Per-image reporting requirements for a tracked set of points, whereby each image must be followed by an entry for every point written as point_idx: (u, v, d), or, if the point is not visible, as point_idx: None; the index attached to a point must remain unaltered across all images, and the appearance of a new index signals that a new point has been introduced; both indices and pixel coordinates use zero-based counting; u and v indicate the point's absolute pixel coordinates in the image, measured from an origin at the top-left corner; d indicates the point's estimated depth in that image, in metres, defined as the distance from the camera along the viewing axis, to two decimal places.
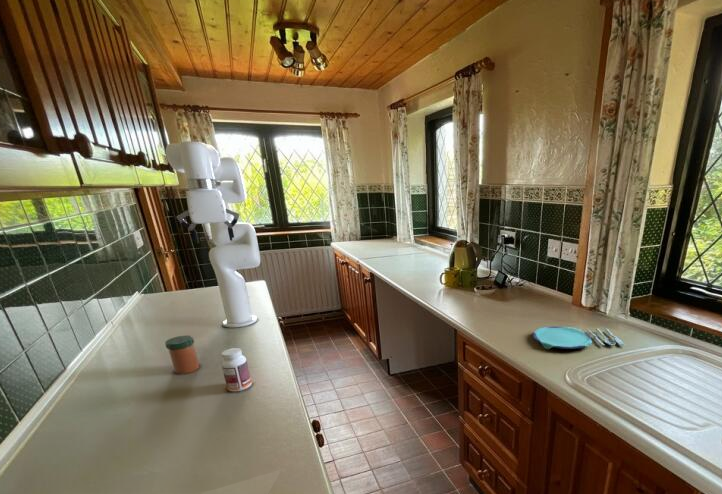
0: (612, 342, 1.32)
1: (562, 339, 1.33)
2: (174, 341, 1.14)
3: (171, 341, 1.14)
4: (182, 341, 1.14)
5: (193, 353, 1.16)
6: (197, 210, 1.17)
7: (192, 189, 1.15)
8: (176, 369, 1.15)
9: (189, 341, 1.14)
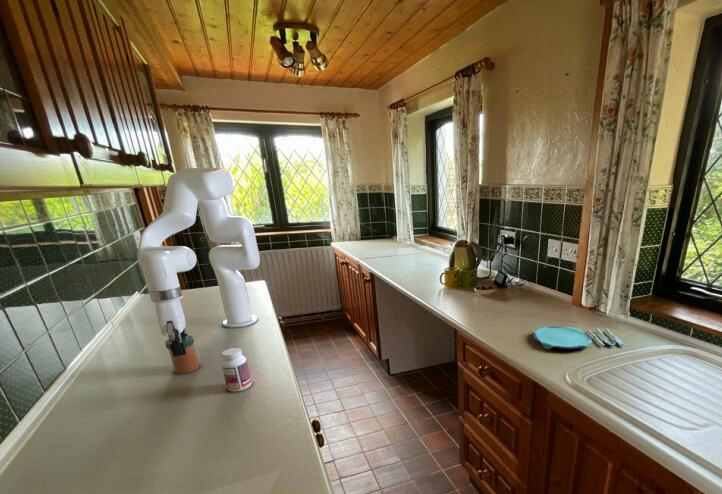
0: (612, 342, 1.32)
1: (562, 339, 1.33)
2: None
3: None
4: (182, 341, 1.14)
5: (193, 353, 1.16)
6: (180, 319, 1.11)
7: (176, 298, 1.09)
8: (176, 369, 1.15)
9: (189, 341, 1.14)
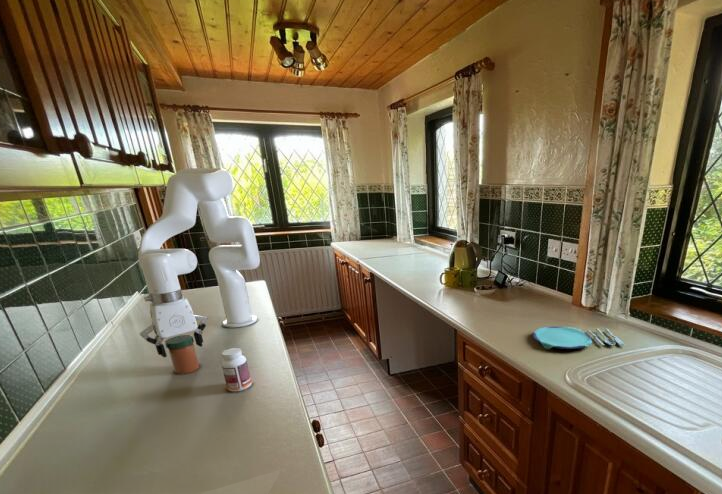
0: (612, 342, 1.32)
1: (562, 339, 1.33)
2: (184, 338, 1.15)
3: (185, 339, 1.15)
4: (182, 336, 1.17)
5: (193, 353, 1.16)
6: None
7: None
8: (176, 369, 1.15)
9: None
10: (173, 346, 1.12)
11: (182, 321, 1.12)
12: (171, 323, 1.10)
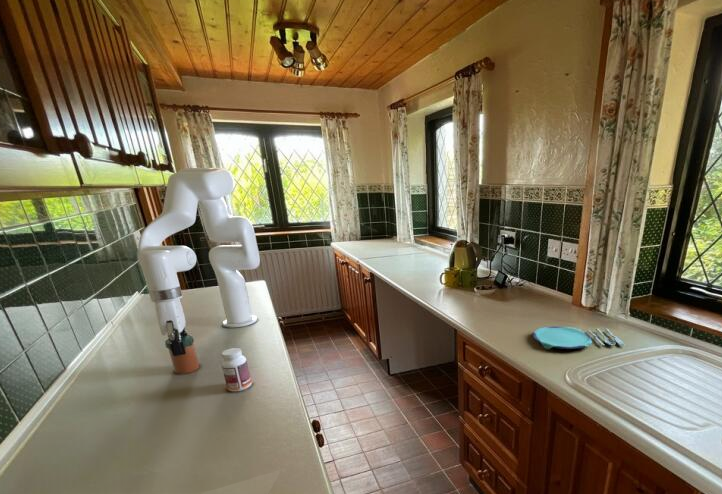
0: (612, 342, 1.32)
1: (562, 339, 1.33)
2: (184, 338, 1.15)
3: (185, 339, 1.15)
4: (182, 336, 1.17)
5: (193, 353, 1.16)
6: (180, 318, 1.11)
7: (176, 298, 1.09)
8: (176, 369, 1.15)
9: None
10: None
11: None
12: None
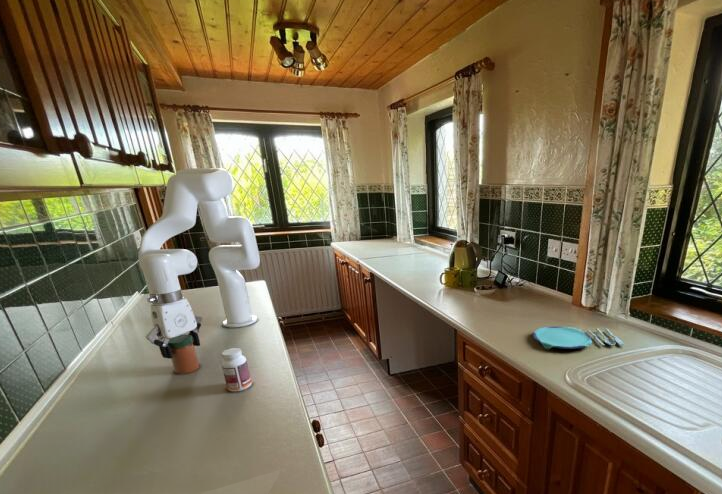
0: (612, 342, 1.32)
1: (562, 339, 1.33)
2: (175, 338, 1.15)
3: (177, 337, 1.16)
4: (170, 341, 1.13)
5: (193, 353, 1.16)
6: None
7: None
8: (176, 369, 1.15)
9: (170, 344, 1.12)
10: None
11: (185, 320, 1.13)
12: (176, 322, 1.11)
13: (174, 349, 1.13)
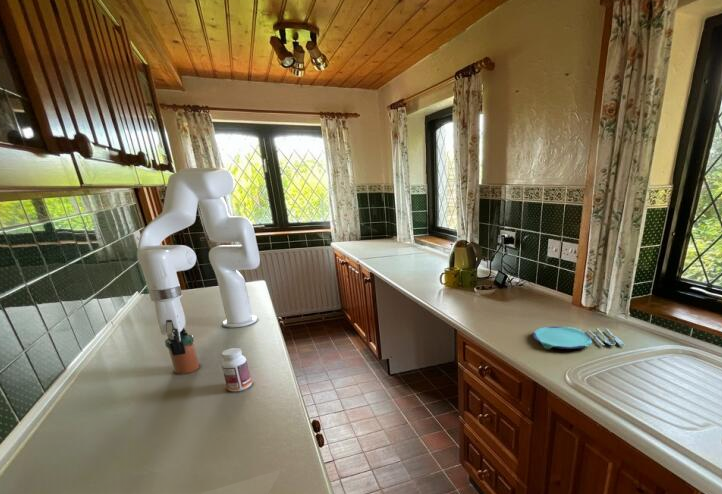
0: (612, 342, 1.32)
1: (562, 339, 1.33)
2: None
3: None
4: None
5: (193, 353, 1.16)
6: (180, 318, 1.11)
7: (175, 298, 1.09)
8: (176, 369, 1.15)
9: None
10: None
11: None
12: None
13: None
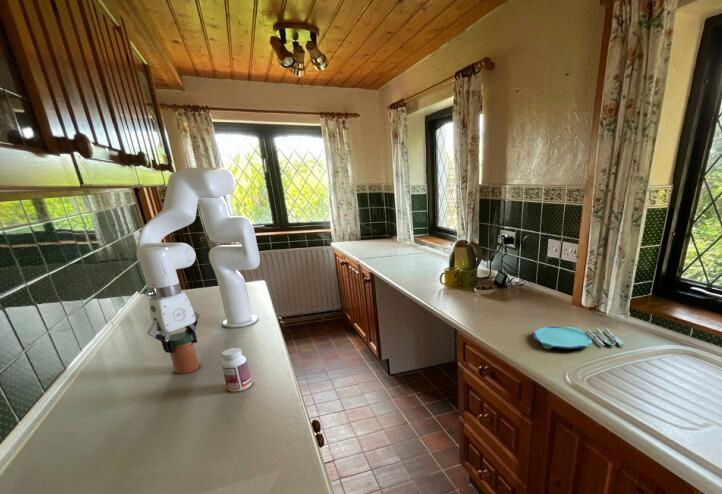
0: (612, 342, 1.32)
1: (562, 339, 1.33)
2: (178, 337, 1.14)
3: (174, 338, 1.13)
4: (187, 335, 1.15)
5: (193, 353, 1.16)
6: None
7: None
8: (176, 369, 1.15)
9: (191, 334, 1.17)
10: None
11: (183, 314, 1.13)
12: (175, 316, 1.10)
13: (174, 349, 1.13)
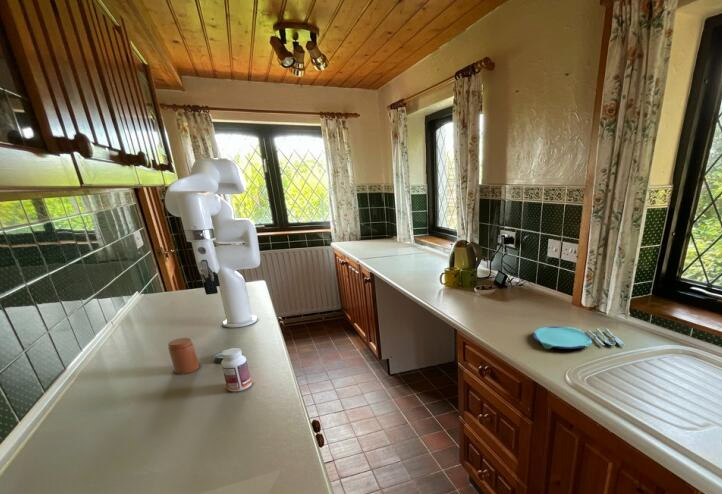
0: (612, 342, 1.32)
1: (562, 339, 1.33)
2: None
3: None
4: None
5: (193, 353, 1.16)
6: None
7: None
8: (176, 369, 1.15)
9: None
10: (216, 360, 1.22)
11: (216, 258, 1.20)
12: (215, 259, 1.17)
13: (174, 349, 1.13)
